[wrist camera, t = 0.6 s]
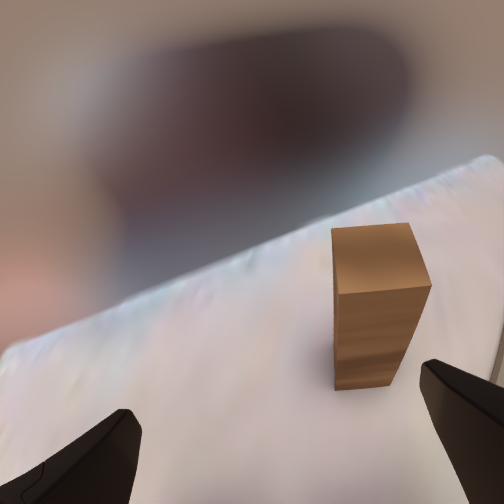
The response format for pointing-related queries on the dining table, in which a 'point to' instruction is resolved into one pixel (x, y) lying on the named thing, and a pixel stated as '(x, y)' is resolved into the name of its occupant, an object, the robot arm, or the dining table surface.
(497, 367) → the foundation slab
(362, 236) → the walnut pillar
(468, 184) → the dining table surface
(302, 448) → the dining table surface
